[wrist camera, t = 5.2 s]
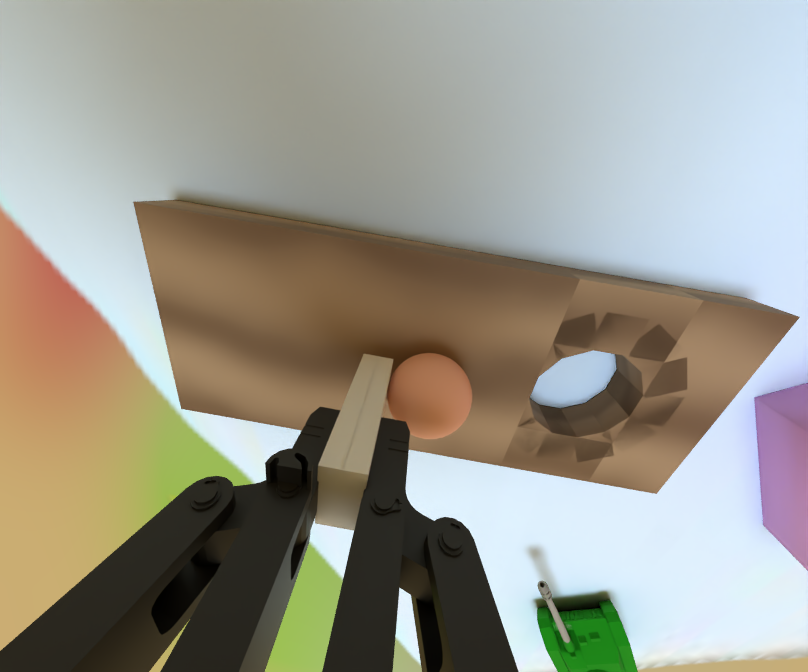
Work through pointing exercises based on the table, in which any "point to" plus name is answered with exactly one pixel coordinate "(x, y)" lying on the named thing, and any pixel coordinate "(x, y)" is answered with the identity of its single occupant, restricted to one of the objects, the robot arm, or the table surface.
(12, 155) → the table surface
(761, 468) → the teapot
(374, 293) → the walnut board
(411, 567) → the robot arm
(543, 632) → the toy tank
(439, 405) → the coral ball
